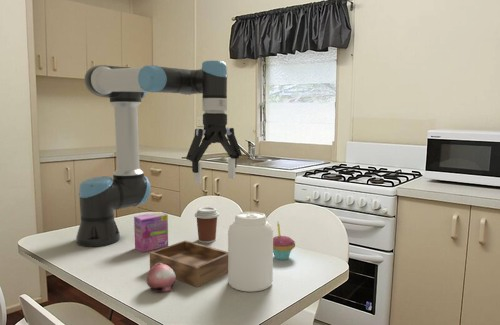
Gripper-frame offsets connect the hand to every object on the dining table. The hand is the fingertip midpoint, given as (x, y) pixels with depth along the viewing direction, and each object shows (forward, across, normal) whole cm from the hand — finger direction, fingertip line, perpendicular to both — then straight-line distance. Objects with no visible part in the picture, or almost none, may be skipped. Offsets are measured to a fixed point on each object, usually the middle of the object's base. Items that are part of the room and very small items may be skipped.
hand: (215, 180), depth 127 cm
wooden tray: (+26, -10, 0) cm, 28 cm away
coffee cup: (+27, +12, +20) cm, 35 cm away
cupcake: (+27, +19, -12) cm, 35 cm away
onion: (+27, -23, -5) cm, 36 cm away
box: (+27, -8, +27) cm, 38 cm away
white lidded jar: (+27, -3, -19) cm, 33 cm away
